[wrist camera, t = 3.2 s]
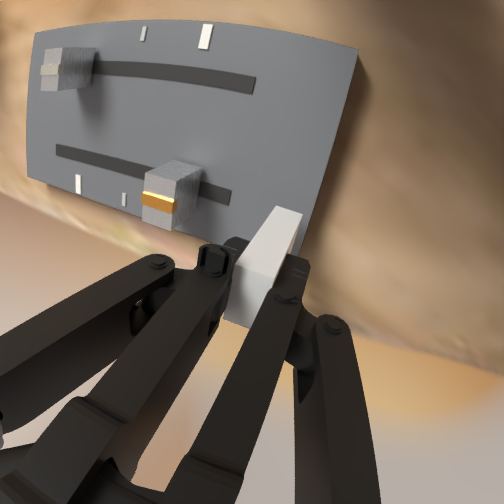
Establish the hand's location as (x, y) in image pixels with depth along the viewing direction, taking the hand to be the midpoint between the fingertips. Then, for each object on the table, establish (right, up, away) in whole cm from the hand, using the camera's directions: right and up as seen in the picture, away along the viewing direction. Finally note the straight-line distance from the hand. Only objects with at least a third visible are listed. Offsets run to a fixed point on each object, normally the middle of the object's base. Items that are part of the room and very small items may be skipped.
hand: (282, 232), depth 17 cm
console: (-9, +9, +3) cm, 13 cm away
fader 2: (-6, +3, +2) cm, 7 cm away
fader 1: (-14, +12, 0) cm, 18 cm away
